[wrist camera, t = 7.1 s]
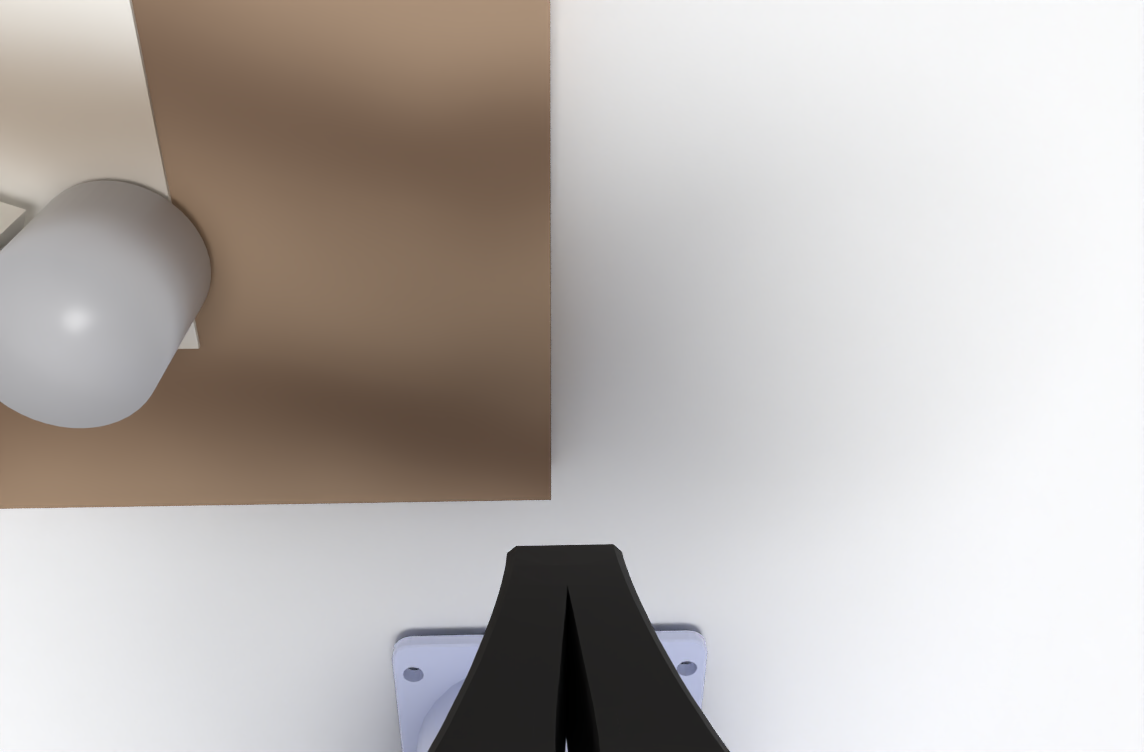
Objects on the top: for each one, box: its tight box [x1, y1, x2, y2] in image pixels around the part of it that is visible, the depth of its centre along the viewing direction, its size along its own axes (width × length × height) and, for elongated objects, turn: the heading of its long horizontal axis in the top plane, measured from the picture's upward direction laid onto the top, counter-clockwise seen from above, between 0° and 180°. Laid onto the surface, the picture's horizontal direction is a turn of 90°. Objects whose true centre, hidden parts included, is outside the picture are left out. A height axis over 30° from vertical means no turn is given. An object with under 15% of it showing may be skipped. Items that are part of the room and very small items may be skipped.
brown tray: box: [0, 0, 551, 509], centre depth 19 cm, size 18×18×1 cm
